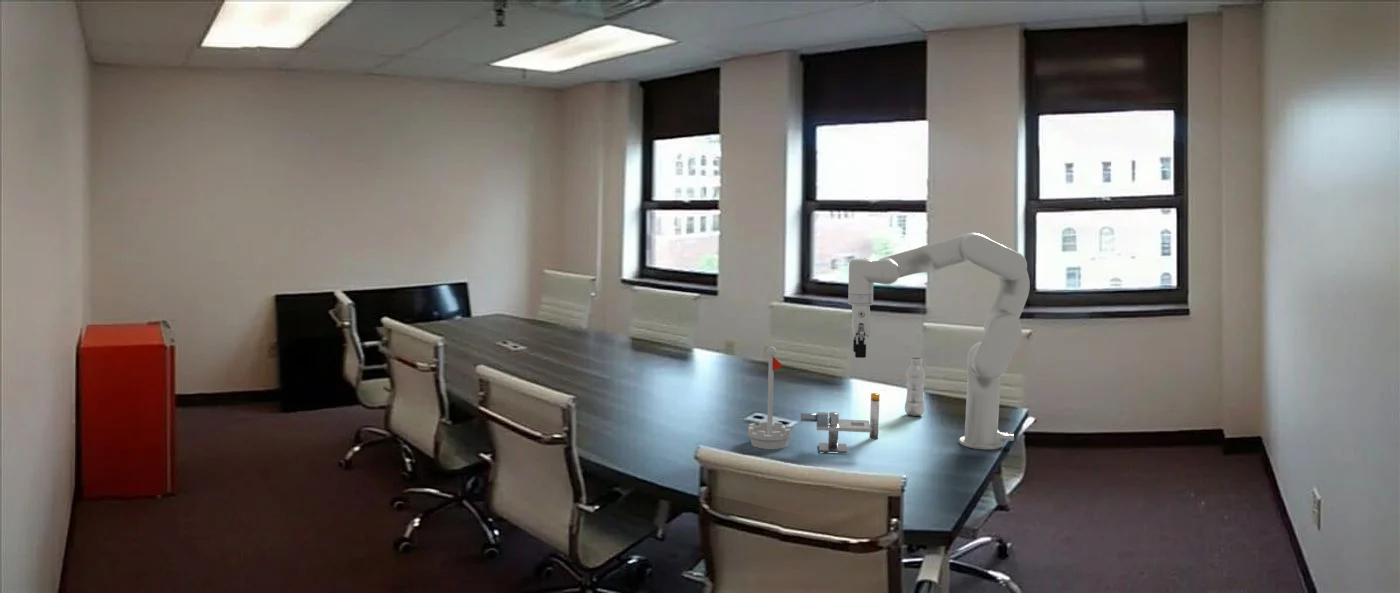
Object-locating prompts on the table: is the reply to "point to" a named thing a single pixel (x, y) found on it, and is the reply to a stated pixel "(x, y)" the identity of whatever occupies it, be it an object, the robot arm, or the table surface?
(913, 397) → the plastic bottle
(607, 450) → the table surface
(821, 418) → the plate with square hole
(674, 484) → the table surface
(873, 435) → the pin
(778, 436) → the flag stand
